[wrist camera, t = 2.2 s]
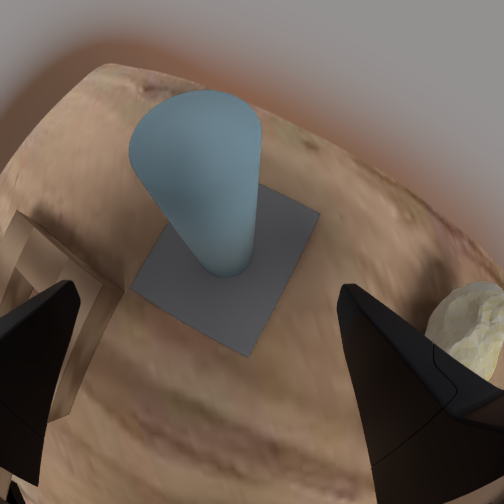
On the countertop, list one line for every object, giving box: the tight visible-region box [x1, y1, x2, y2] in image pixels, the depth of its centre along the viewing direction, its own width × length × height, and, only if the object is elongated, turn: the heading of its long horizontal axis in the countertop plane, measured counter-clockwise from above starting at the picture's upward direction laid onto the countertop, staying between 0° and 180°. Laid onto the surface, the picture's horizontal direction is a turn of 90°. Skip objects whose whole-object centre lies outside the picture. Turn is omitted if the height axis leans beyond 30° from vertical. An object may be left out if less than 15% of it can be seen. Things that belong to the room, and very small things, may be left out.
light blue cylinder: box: [129, 90, 262, 278], centre depth 14 cm, size 4×4×13 cm
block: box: [0, 210, 124, 423], centre depth 17 cm, size 13×13×4 cm
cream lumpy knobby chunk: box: [425, 281, 504, 381], centre depth 15 cm, size 15×7×15 cm
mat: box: [130, 183, 320, 357], centre depth 20 cm, size 12×10×1 cm
